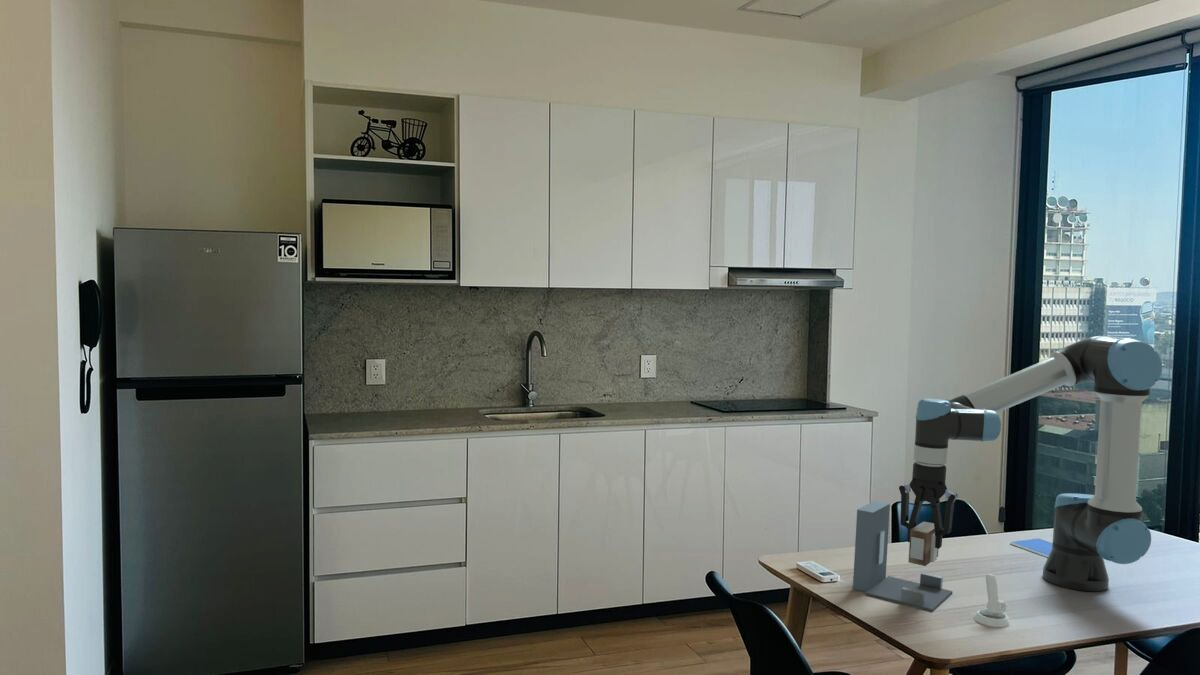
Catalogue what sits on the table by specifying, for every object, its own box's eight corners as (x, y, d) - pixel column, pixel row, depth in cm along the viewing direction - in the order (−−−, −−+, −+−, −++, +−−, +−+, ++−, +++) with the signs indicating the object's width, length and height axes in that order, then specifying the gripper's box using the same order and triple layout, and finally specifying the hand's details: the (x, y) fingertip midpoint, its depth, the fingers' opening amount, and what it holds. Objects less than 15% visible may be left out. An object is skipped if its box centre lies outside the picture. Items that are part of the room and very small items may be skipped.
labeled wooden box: (938, 556, 216) (940, 524, 216) (924, 566, 208) (926, 533, 208) (921, 553, 219) (923, 521, 218) (907, 562, 210) (909, 530, 210)
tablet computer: (1096, 561, 249) (1096, 557, 249) (1065, 566, 244) (1065, 561, 244) (1038, 542, 267) (1038, 537, 267) (1008, 545, 262) (1008, 541, 262)
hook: (989, 585, 210) (1010, 577, 204) (997, 636, 203) (1018, 629, 197) (962, 579, 208) (982, 571, 202) (969, 631, 201) (990, 624, 196)
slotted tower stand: (952, 593, 218) (957, 514, 216) (932, 611, 205) (937, 527, 204) (873, 574, 230) (877, 499, 228) (849, 590, 217) (854, 511, 216)
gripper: (971, 466, 210) (964, 562, 212) (899, 455, 220) (893, 547, 222) (962, 471, 204) (955, 570, 206) (889, 459, 214) (883, 553, 216)
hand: (923, 558), depth 214 cm, fingers closed on labeled wooden box, 4 cm apart
